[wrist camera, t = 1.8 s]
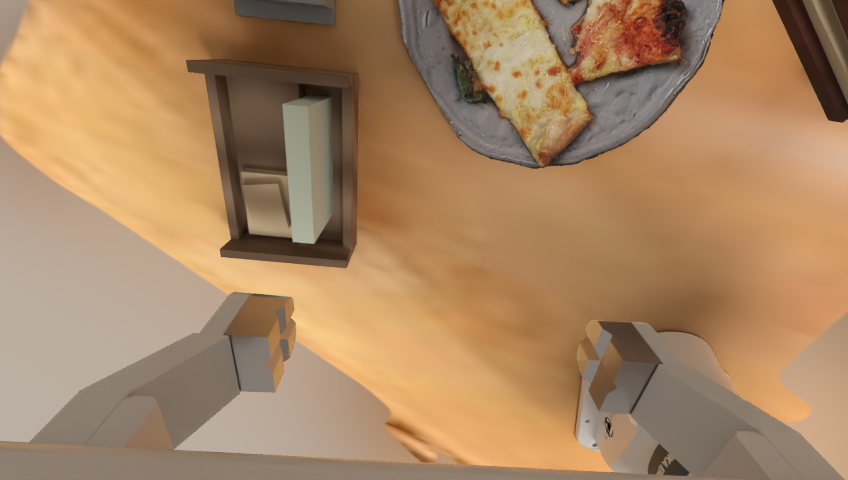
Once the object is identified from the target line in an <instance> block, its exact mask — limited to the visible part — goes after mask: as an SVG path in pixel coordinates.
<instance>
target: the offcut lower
mask: <svg viewBox="0 0 848 480" xmlns="http://www.w3.org/2000/svg"><path fill="white" fill-rule="evenodd" d="M241 175H242V183H243V184H244V183H246V182H256V181H281V180H282V182H283V187H284V191H285V196H286V200H287V204H288V209H289V213H290V200H289V187H288V174H287V172H283V171H272V170H262V169H252V168H246V169H244V170H243V171H241ZM244 198H245V195H244ZM245 205H246V213H247V220H248V228H249V234H254V235H265V236H276V237H287V238H292V226H290V227H289V228H284V229H254V227H253V224H252V220H251V217H250V213H249V209H248V206H247V202H246V199H245ZM290 218H291V213H290Z"/></svg>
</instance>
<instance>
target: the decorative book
mask: <svg viewBox="0 0 848 480" xmlns="http://www.w3.org/2000/svg"><path fill="white" fill-rule="evenodd" d="M772 1H773V3H774V5H775V7H776V9H777V11H778V14H779V16H780V18H781V20H782V22H783V24H784V26H785V28H786V31H787V33H788V35H789V37H790V39H791V41H792V43H793V46H794V48H795V50H796V52H797V54H798V56H799V58H800V61H801V63H802V65H803V67H804V69H805V71H806V73H807V76H808V78H809V80H810V82H811V84H812V86H813V88H814V91H815V93H816V95H817V97H818V99H819V101H820V103H821V106H822V108H823V110H824V112H825V114H826V116H827V118H828V120H830V121H836V122H844V121H845V120H847V119H848V0H772Z"/></svg>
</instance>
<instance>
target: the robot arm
mask: <svg viewBox="0 0 848 480" xmlns="http://www.w3.org/2000/svg"><path fill="white" fill-rule="evenodd" d="M293 312H294V302H293V299H292V298H291V297H285V296H274V295H264V294H251V293H239V292H234V293H231V294H230V295H229V296H228V297H227V298H226V300H225V301H224V302H223V303H222V305H221V306H220V307H219V309H218V310H217V311H216V312H215V314H214V315H213V317H212V318H211V319H210V320H209V322H208V323H207V324H206V325H205V327H204V328H203V329H202V331H201V332H200V333H199V334H198V333H193V334H191V335H189V336H187V337H185V338H183V339H181V340H179V341H177V342H175V343H173V344H171V345H169V346H167V347H165V348H163V349H161V350H159V351H157V352H155V353H153V354H151V355H149V356H147V357H145V358H143V359H141V360H139V361H137V362H135V363H133V364H131V365H129V366H127V367H126V368H123V369H122V370H120V371H118V372H116V373H114V374H112V375H110V376H108V377H106V378H104V379H102V380H100V381H98V382H96V383H94V384H92V385H90V386H88V387H86V388H84V389H82V390H80V391H79V392H78V393H77V394H76V395H75V396H74V397H73V398H72V399H71V400H70V401H69V402H68V403H67V404H66V405H65V406H64V408H62V410H60V411H59V412H58V413H57V414H56V415H55V416H54V417H53V418H52V420H51V421H50V422H49V423H48V424H47V425H46V426H45V427H44V428H43V429H42V430H41V431H40V432H39V433H38V434H37V435H36V436H35V437H34V438H33V439H32V440H31V441H30V442H29V443H27V442H6V441H0V480H844V478H843V477H842V476H841V475H840V474H839V473H838V472H836V470H835V469H834V468H833V467H832V466H831V465H830V464H829V463H828V462H827V461H826V460H825V459H824V458H823V457H822V456H821V455H820V454H819V453H818V452H817V451H816V450H815V449H814V448H813V447H812V446H811V444H809V442H808V441H807V440H806V439H805V438H804V437H803V436H802V435H801V434H799V433H798V432H797V431H795V430H794V429H792V428H790V427H788V426H787V425H785V424H784V423H782V422H780V421H779V420H777V419H775V418H774V417H772V416H771V415H769V414H767V413H766V412H764V411H762V410H761V409H759V408H757V407H756V406H754V405H752V404H751V403H749V402H747V401H746V400H744V399H743V398H742V397H741V396H740V394H739V393H738V391H737V390H736V388H735V387H734V386H733V384H732V381H731V379H730V378H729V376H728V375H727V374H726V372H725V371H724V370H723V369H722V367H721V365H720V364H719V362H718V360H717V358H716V356H715V354H714V352H713V350H712V348H711V347H710V346H709V344H707V343H706V342H705V341H704V340H702V339H701V338H699V337H697V336H694V335H691V334H688V333H683V332H660V333H657V332H656V331H655V330H654V329H653V327H652V326H651V325H649V324H648V323H646V322H634V321H627V322H624V321H609V320H594V319H591V320H590V321H589V322H588V323H587V326H586V328H585V332H586V334H587V338H585V339H584V340H583V341H581V342H580V343H579V346H578V349H577V361H576V362H577V366H578V370H579V372H580V374H581V376H582V384H581V391H580V399H579V407H578V415H577V423H576V431H575V437H576V439H577V441H578V443H580V444H581V445H583V446H585V447H587V448H589V449H592V450H595V451H599V452H601V454H602V456H603V458H604V460H605V462H606V463H607V465H608V466H609V467H610V468H611V469H612V470H613V471H614V472H596V471H576V470H556V469H537V468H517V467H497V466H478V465H459V464H439V463H420V462H400V461H381V460H359V459H341V458H322V457H301V456H282V455H263V454H243V453H224V452H203V451H183V450H174V449H175V448H176V447H177V446H178V445H179V444H181V443H182V442H183V441H184V440H185V439H187V438H188V437H189V436H190V435H191V434H193V433H194V432H195V431H196V430H197V429H198V428H199V427H201V426H202V425H203V424H204V423H206V422H207V421H208V420H209V419H210V418H211V417H213V416H214V415H215V414H216V413H217V412H218V411H220V410H221V409H222V408H223V407H224V406H226V405H227V404H228V403H229V402H230V401H231V400H233V399H234V398H235V397H236V396H237V395H239V394H240V391H248V392H276V389H277V387H278V384H279V382H280V380H281V378H282V375H283V373H284V364H283V362H284V361H286V360H287V359H289V358H290V356H291V353H292V351H293V348H294V343H295V339H296V323H295V322H294V321H293V319H292V318H291V316H292V314H293Z"/></svg>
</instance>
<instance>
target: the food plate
mask: <svg viewBox="0 0 848 480" xmlns="http://www.w3.org/2000/svg"><path fill="white" fill-rule="evenodd" d="M723 2H724V0H399V1H398V4H399V6H400V7H399V11H400V16H401V25H402V38H403V39H404V40H403V42H404V44H405V47H406V48H408V51H409V53H410V55H409V53H408V55H409V56H411V57H410V58H411V60H412V62H413V63H414V65H415V67H416V68H417V70H419V71H418V72H419V73H420V75H422V78H423V80H424V81H425V83H426V85H427V87H428V88H429V90H430V91H431V93H432V95H433V97H434V98H435V100H436V101H437V103H438V105H439V107H440V108H441V110H442V112H443V113H444V115H445V117H447V120H448V122H449V123H450V125H451V124H452V126H453V130H454V132H457V133H456V134H459V136H458V138H459V139H460V140H461V141H462V142H464V143H465V144H466V145H467V146H468V147H470V148H471V149H472V150H473V151H475V152H477V153H479V154H481V155H484V156H487V157H489V158H491V159H496V160H501V161H504V162H509V163H514V164H518V165H523V166H526V167H530V168H532V169H537V168H544V167H546V166H551V165H552V166H556V165H557V166H558V165H560V166H563V165H572V164H577V163H579V162H581V161H583V160H585V159H586V160H587V159H591V158H594V157H596V156H598V155H599V154H603V153H604V152H607V151H610V150H613V149H615V148H617V147H619V146H622V145H623V144H625V143H627V142H629V140H631V139H632V138H634V137H636V136H638V135H639V134H640V133H641V132H642V131H644V130H646V129H648V128H650V126H652V124H654V122H655V121H657V120H658V118H659V117H660V116H661V115H662V114H663V113H664V112H665V111H666V110H667V108H669V106H670V105H671V104H672V102H673V101H674V100H675V98H676V97H677V96H678V94H679V93H680V92H681V91H682V90H683V89H684V88H685V86H686V84H687V83H688V82H689V81H690V80H691V79H692V78H693V77H694V76H695V74H696V73H697V71H698V70H699V68H700V67H701V66H702V64H703V63H704V60H705V57H706V55H707V53H708V50H709V46H710V44H711V43H710V42H709V41H710V39H712V36H713V31H714V29H715V27H716V24H717V23H718V21H719V20H720V16H721V10H722V7H723ZM404 44H403V45H404ZM572 46H574V47H575V51H576V53H575V54H574V55H572V54H571V53H570V48H571V47H572ZM452 126H451V127H452Z"/></svg>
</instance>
